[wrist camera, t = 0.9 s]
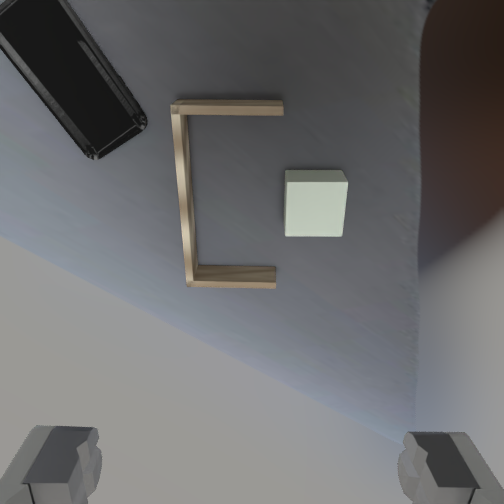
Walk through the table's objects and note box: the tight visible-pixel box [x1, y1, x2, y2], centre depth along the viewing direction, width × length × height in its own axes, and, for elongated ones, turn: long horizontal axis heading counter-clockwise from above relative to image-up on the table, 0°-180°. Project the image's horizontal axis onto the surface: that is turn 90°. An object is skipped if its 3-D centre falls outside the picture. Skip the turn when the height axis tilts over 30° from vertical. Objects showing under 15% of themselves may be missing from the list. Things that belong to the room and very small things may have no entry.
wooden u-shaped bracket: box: [170, 99, 284, 289], centre depth 42 cm, size 20×10×4 cm, turn 0°
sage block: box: [284, 170, 348, 236], centre depth 42 cm, size 6×6×4 cm
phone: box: [0, 0, 147, 160], centre depth 38 cm, size 8×1×15 cm
